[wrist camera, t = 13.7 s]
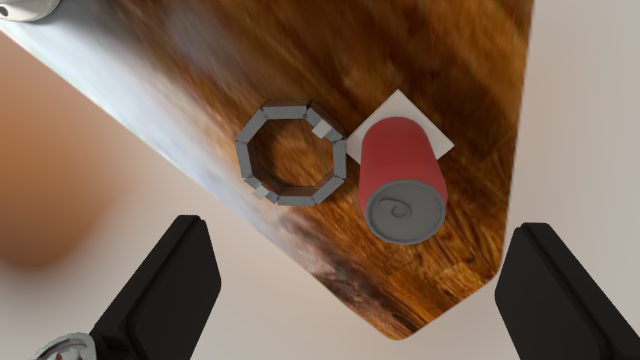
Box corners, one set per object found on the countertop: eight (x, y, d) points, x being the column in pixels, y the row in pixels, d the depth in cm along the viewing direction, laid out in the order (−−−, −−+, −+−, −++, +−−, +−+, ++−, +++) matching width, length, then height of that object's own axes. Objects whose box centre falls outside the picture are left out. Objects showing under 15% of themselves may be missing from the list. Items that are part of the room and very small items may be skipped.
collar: (224, 152, 37) (213, 164, 35) (287, 74, 32) (280, 81, 30) (300, 212, 40) (296, 227, 38) (370, 149, 35) (370, 161, 32)
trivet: (340, 144, 35) (339, 146, 35) (398, 88, 31) (398, 90, 31) (393, 191, 37) (393, 194, 36) (453, 143, 33) (454, 145, 33)
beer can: (383, 101, 32) (390, 156, 21) (442, 134, 32) (475, 202, 22) (349, 155, 35) (340, 226, 25) (403, 184, 36) (416, 264, 25)
